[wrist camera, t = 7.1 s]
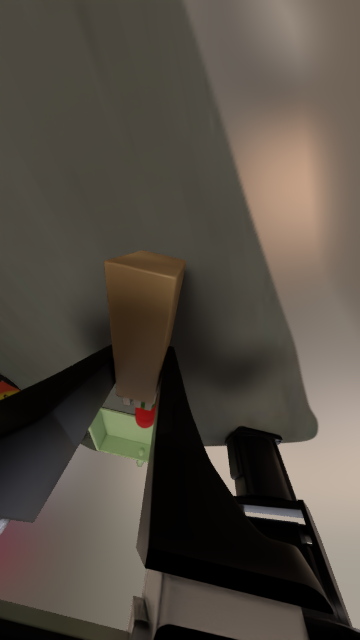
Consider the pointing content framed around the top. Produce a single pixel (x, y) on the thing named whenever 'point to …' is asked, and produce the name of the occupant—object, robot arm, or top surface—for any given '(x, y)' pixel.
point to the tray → (121, 435)
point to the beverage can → (7, 388)
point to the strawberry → (145, 415)
